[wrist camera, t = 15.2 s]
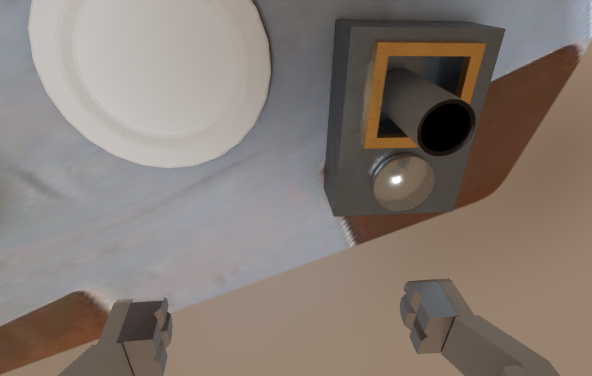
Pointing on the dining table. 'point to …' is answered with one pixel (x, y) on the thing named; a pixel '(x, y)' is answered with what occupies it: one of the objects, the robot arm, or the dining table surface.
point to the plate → (154, 74)
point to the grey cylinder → (427, 113)
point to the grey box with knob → (381, 129)
